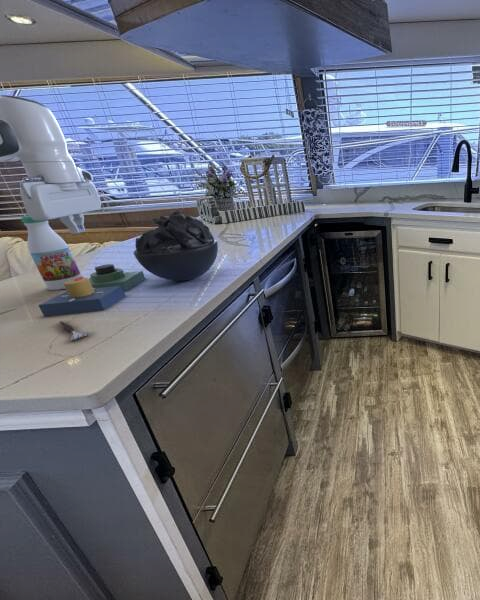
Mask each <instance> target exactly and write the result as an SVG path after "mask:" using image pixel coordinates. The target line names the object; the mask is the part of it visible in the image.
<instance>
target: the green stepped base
mask: <svg viewBox="0 0 480 600" xmlns="http://www.w3.org/2000/svg"><path fill="white" fill-rule="evenodd" d="M115 270H116V272H113V273H109V274H103V275H97V272H96V271H95V272H93V273H90V275H89V277H88V279H89V281H90V283H91V285H92V287H93V288H103V287H113V286H122V288H123V291H124V292H127V291H129V290H131V289H133V288H134V287H136V286H137V285H138V284H140V283H142V282H143V281H145V280H146V277H145V273H144V272H143V270H136V271H135V270H134V271H126V272H125V271H124V270H123V268H118V267H117V268H116V267H115Z"/></svg>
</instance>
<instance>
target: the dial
mask: <svg viewBox="0 0 480 600" xmlns="http://www.w3.org/2000/svg"><path fill="white" fill-rule="evenodd" d="M63 284H64V286H65V290H66V291H67V292H68V294H69V296H70V298H78V297H84V296H87V295H90V294H92V293H94V290H93V287H92V285H91V283H90V281H89V277H84V276H82V277H79V278H77V279H73V280H69V281H66V282H64V283H63Z"/></svg>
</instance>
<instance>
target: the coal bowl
mask: <svg viewBox="0 0 480 600" xmlns="http://www.w3.org/2000/svg"><path fill="white" fill-rule="evenodd" d="M152 221H153V222H154V223H155V224H157V227H156V228H155V229H150V230H147V231H145V232H143V233H142V234H141V236H139V237H136V238H135V250H134V251H133V255H134V258H135V259H136V261H137V262H138V263H139V264H140V265H141V266H142V267H143V268H144V269H145V270H146V271H148V272H149V273H150V274H152V275H154V276H156V277H158V278H161V279H164V280H168V281H173V282H174V281H176V282H182V281H189V280H193V279H196V278H200V277H201V276H202V275H204V274H206V273H207V272H208V271H209V270H210V269H211V267H212V266H213V265H214V263H215V262H216V260H217V257H218V253H219V251H218V250H219V246H218V245H219V244H218V241H217V239H215V238H214V236H213V234H212V232H211V231H210V228H209V226H207V225H206V224H204V222H203V220H202V219H200V218H197V217H196V218H195V217H194V216H191V215H188V214H186V215H184V214H181V211H179V210H176V211H173V212H172V213H170V214H169V215H168V216H166V215H160V216H159V217H153V218H152Z"/></svg>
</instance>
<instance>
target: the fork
mask: <svg viewBox="0 0 480 600" xmlns="http://www.w3.org/2000/svg"><path fill="white" fill-rule="evenodd" d="M59 323H60V325H61V326H62V328H63V330H65V331H67V332H68V333H71V334H72V336H71V337H70V341H75V340H78V339H81V338H84V337H87V336H89V333H90V332H89V331H87V332H86V333H84V332H82V333H81V332H76V330H75V329H74V328H73V326H72V325H70V324H69V323H65V322H63V321H61V320H60V321H59Z"/></svg>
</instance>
